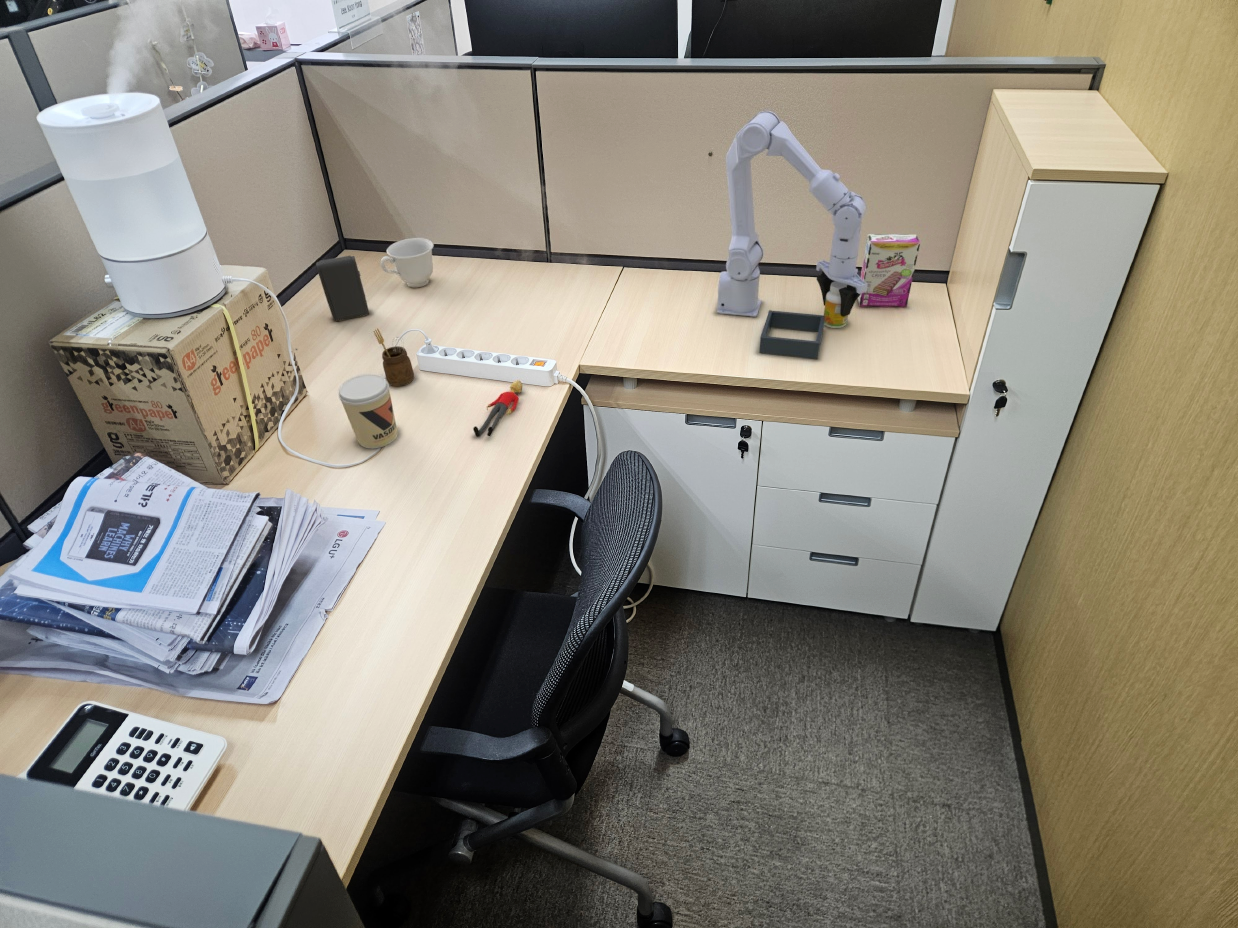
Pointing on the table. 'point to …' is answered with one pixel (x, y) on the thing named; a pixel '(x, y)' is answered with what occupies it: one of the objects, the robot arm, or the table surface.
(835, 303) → the supplement bottle
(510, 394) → the person figure
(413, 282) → the teacup
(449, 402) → the table surface
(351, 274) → the dark grey upright block
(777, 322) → the tray
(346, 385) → the beige lidded canister
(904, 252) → the candy bar box
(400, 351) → the utensil holder
